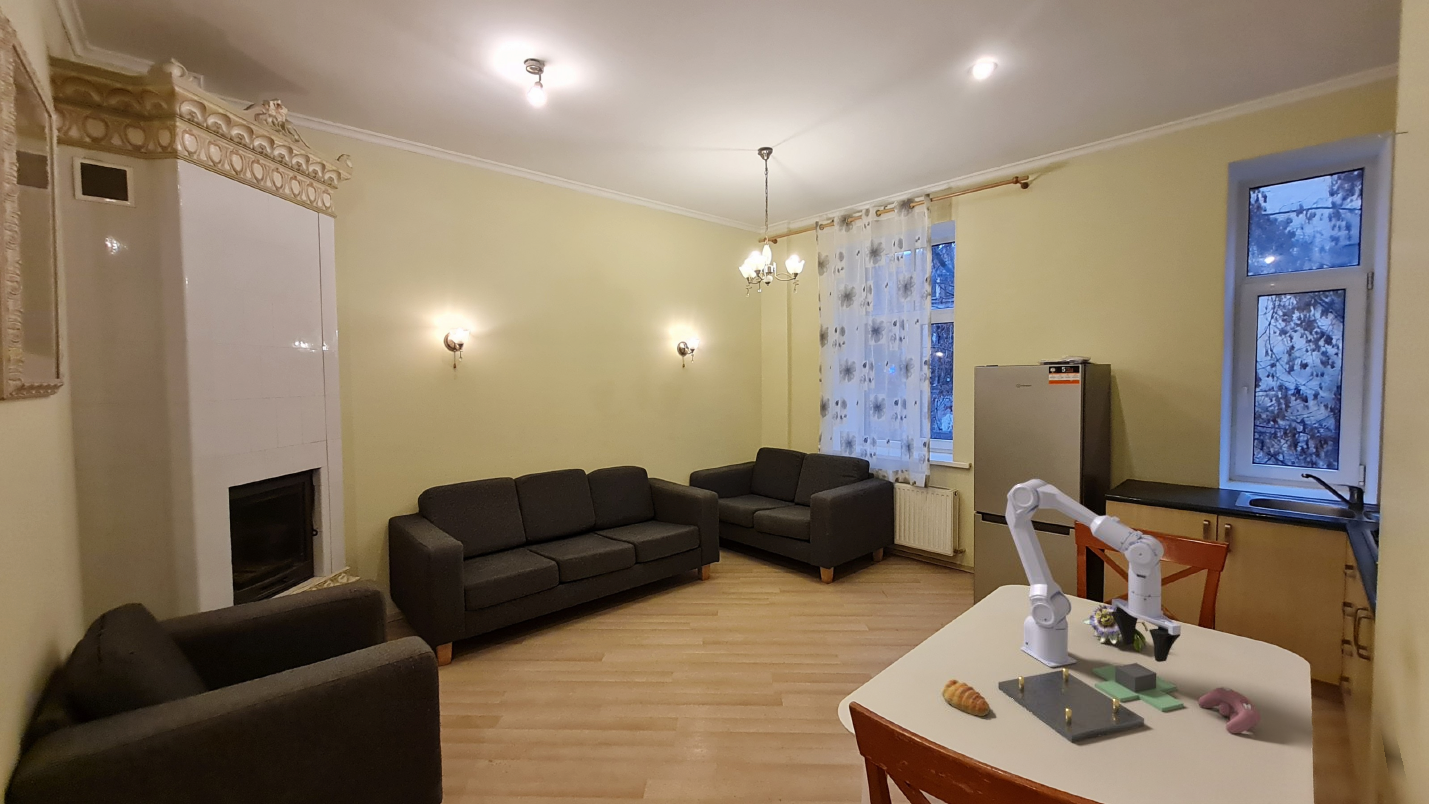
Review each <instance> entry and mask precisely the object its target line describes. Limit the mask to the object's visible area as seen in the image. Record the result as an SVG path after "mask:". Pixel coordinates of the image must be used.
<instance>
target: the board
mask: <svg viewBox="0 0 1429 804" xmlns="http://www.w3.org/2000/svg"><path fill="white" fill-rule="evenodd" d="M1091 669H1092V671H1091V672H1092V673H1093V674H1095V675H1097V676H1098V677H1100V678H1102V679H1104V680H1106V681H1102V682H1097V683H1096V682H1095V683H1094V688H1095V689H1096V690H1098V691H1100V692H1101V693H1103V694H1105V695H1106V696H1107V695H1108V697H1111V699H1113V698H1117V699H1119V703H1123V702H1127V701H1131V700H1136V699H1139V700H1140V701H1142V702H1144V703H1146V704H1147V705H1149V706H1151V707H1153V708H1154V709H1156V710H1158V711H1160V712H1161V713H1162V712H1167V711H1171V710H1175V709H1176V710H1177V709H1180V708H1183V707H1184V705H1185V704H1184V702H1182V701H1180V700H1178V699H1177V698H1175V697H1173V696H1171V695H1169V694H1167V693H1170V692H1173V691H1177V688H1178V686H1177V685H1175V684H1172V683H1170V682H1168V681H1167V680H1165V679H1163V678H1161V677H1159V676H1157V673H1156V672H1155V671H1153V670H1151V669H1149V668H1147V667H1145V666H1143V665H1141V664H1139V663H1137V662H1134V663H1129V664H1123V665H1117V666H1115V665H1113V664H1111V665H1110V664H1109V665H1106V666H1100V667H1095V668H1091Z"/></svg>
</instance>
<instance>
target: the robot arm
mask: <svg viewBox="0 0 1429 804" xmlns="http://www.w3.org/2000/svg"><path fill="white" fill-rule="evenodd" d="M1006 498H1007V504H1006V510H1005V521H1006V522H1007V526H1008V528H1009V531H1010V533H1011V536H1012V539H1013V541H1014V544H1015V546H1016V550H1017V552H1018V556H1019V558H1020V561H1021V564H1022V566H1023V569H1024V571H1025V574H1026V578H1027V580H1028V582H1029V585H1030V589H1029V595H1028V598H1029V602H1030V609H1029V611H1030V615H1028V616H1027V617H1026V618H1025V620H1024V623H1023V646H1021V647H1020V650H1021V651H1022V652H1025V653H1026V654H1027V655H1030V656H1031V657H1033V658H1034V659H1036V660H1038V661H1039V662H1041V663H1043V664H1044V665H1046V666H1047V667H1049V668H1054V667H1060V666H1066V665H1071V664H1076V663H1077V659H1074V658H1073V657H1072V656H1069V654H1068V651H1069V649H1068V648H1069V647H1068V643H1069V638H1068V637H1069V636H1068V635H1069V633H1068V632H1069V631H1068V630H1069V623H1068V620H1067V616H1069V615H1070V613H1071V611H1072V602H1071V601H1070V599H1069V597H1067V596H1066V595H1065V593H1064V591H1063V590H1062V588H1061V586H1060V585H1059V584H1058V583H1056V582H1055V581H1054V578H1053V576H1052V573H1051V570H1050V568H1049V565H1048V562H1047V561H1046V558H1045V554H1044V552H1043V550H1042V547H1041V543H1040V541H1039V539H1038V536H1037V533H1036V531H1035V528H1034V526H1033V523H1032V520H1031V519H1032V517H1033V516H1034V514H1035V513H1036V511H1037V509H1039V510H1040V509H1041V510H1042V509H1044V510H1045V509H1046V510H1047V509H1049V510H1050V509H1052V510H1053V509H1054V510H1057V511H1059V512H1060V513H1062V514H1064V515H1066V516H1068V517H1070V518H1072V519H1074V520H1075V521H1077V522H1078V523H1081V524H1083V525H1085V526H1087V527H1088V528H1089V529H1090V532H1091V533H1092V534H1091V535H1092V536H1093V537H1095V538H1096V539H1098V540H1100V541H1101V542H1103V543H1105V544H1107V545H1108V546H1109V547H1111V548H1113V549H1115V550H1117V551H1118V552H1120V553H1121V554H1124V556H1125V559H1126V560H1127V561H1128V576H1127V577H1128V579H1127V580H1128V581H1127V582H1128V586H1127V587H1128V589H1127V591H1128V593H1127V594H1128V597H1127V598H1128V599H1127V600H1128V601H1127V600H1124V599H1121V598H1113V599H1111V606H1112V607H1113V608H1115V609H1117V610H1116V611H1113V612H1111V615H1112V616H1113V618H1114V619H1115V621H1116V623H1117V625H1118V627H1119V630H1120V633H1121V635H1120V636H1121V639H1122V643H1123V644H1124V645H1125V646H1130V645H1133V644H1134V641H1135V629H1137V628H1136V627H1137V624H1138V623H1137V622H1138V621H1139V620H1143V622H1147V623H1149V624H1151V625H1153V626H1154V627H1157V628H1151V629H1148V632H1149V634H1150V635H1151V638H1152V642H1153V654H1154V660H1155V662H1158V663H1161V662H1166V661H1167V658H1168V657H1169V653H1170V650H1171V649H1172V647H1173V645H1174V643H1175V642H1176V640H1178V639H1179V637H1180V636H1181V634H1182V633H1181V631H1182V629H1181V624H1179V623H1177V622H1175V621H1173V620H1172V619H1170V618H1168V617H1167V616H1166V615H1165V614H1164V611H1163V610H1162V574H1161V569H1162V568H1161V567H1162V566H1161V561H1160V560H1161V559H1162V558H1163V555H1164V553H1165V549H1164V546H1163V544H1162V543H1161V542H1160V541H1159V540H1158V539H1157V538H1155V537H1154V536H1153V535H1148V534H1144V533H1143V532H1142V531H1140V530H1137V531H1136V530H1134V529H1133V528H1131V527H1129V526H1128V525H1126V524H1124V523H1122V522H1120V521H1121V519H1120V518H1119V517H1118V516H1116V515H1115V516H1112V517H1111V516H1110V515H1098V514H1096V513H1095V512H1093V511H1092V510H1090V509H1088V508H1087V507H1086V506H1084V505H1082V504H1081V503H1079V502H1078V501H1076V500H1074V499H1073V498H1072V497H1070V496H1069V495H1066V493H1064V492H1063V491H1060V490H1059V489H1058V488H1057V487H1055V486H1054V485H1053V484H1050V483H1049V484H1048V483H1047V482H1046V481H1045V480H1042V479H1039V478H1032V479H1030V480H1028V481H1026V482H1025V481H1024V482H1022V483H1018V484H1016V485H1014V486H1013V487H1012V488H1011V489H1010V491H1009V492H1008V493H1007V494H1006Z"/></svg>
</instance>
